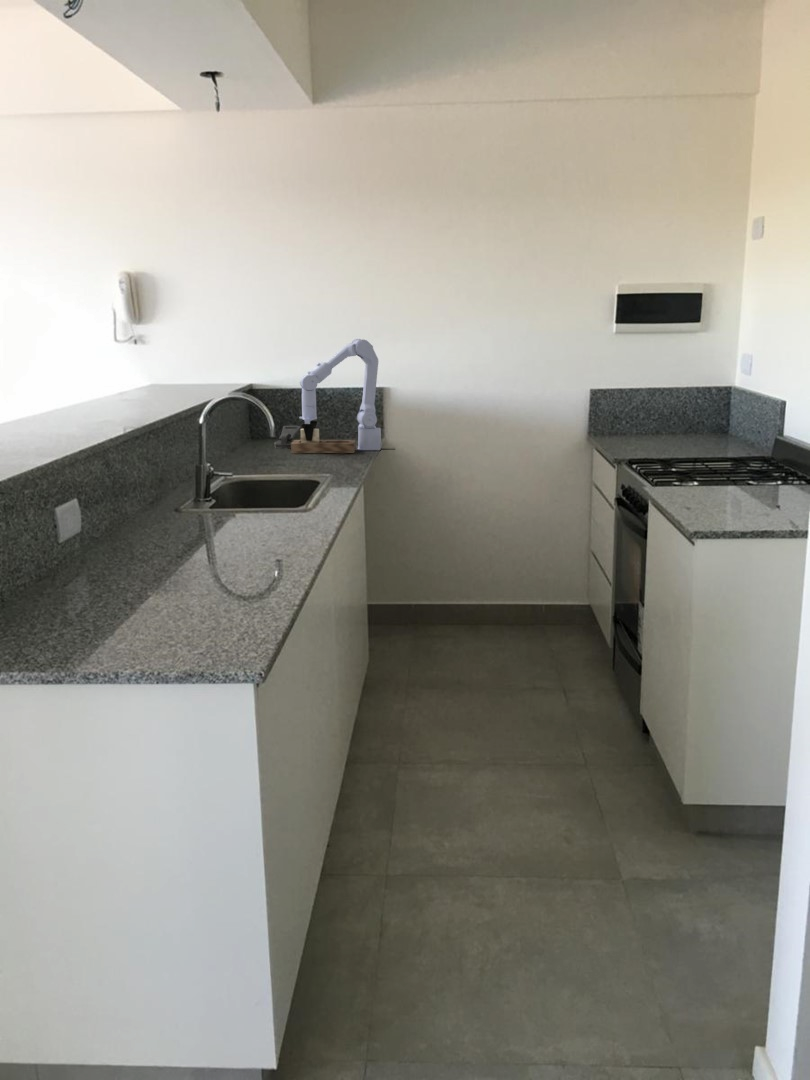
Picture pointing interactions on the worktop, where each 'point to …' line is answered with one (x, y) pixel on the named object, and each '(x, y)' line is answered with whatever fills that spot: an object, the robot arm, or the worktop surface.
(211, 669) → the worktop surface
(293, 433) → the dark grey angled stand
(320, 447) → the wooden compartment tray
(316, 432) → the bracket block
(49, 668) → the worktop surface
